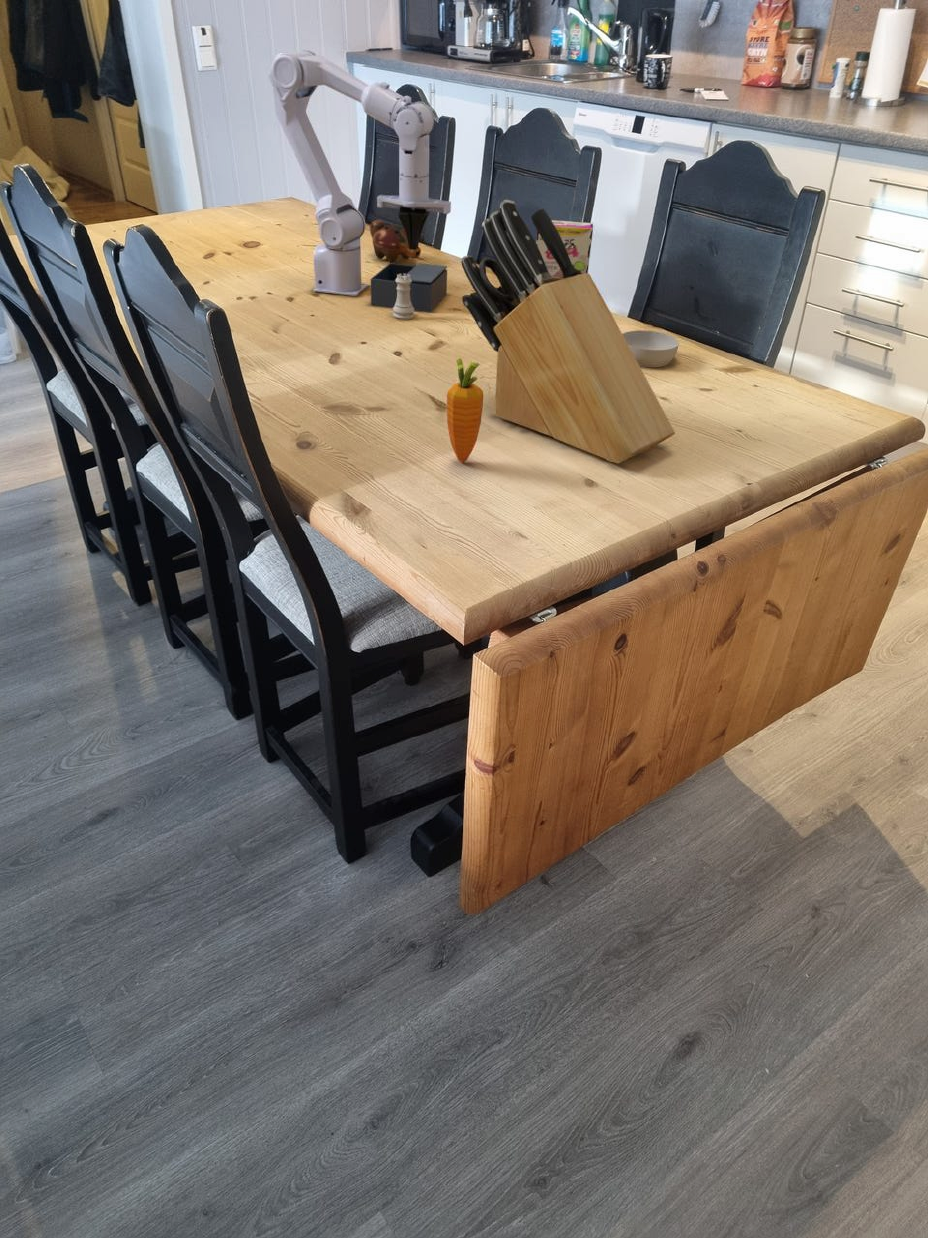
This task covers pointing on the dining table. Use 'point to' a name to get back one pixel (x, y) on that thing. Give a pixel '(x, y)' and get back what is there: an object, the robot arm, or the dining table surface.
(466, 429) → the carrot
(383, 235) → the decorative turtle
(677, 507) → the dining table surface
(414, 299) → the carton
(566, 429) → the knife block
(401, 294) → the rook chess piece
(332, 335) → the dining table surface
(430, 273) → the flap
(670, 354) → the grey bowl
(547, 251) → the candy bar box
